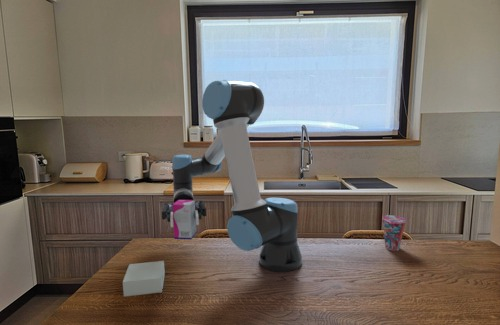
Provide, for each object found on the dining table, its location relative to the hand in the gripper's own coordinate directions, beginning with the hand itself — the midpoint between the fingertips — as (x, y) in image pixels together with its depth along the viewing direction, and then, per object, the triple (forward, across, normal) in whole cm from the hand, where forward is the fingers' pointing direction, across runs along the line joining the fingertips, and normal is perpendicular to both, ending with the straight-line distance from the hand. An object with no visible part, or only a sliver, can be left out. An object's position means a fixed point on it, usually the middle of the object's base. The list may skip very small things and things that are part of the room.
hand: (184, 222), depth 97 cm
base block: (-2, +13, -21) cm, 25 cm away
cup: (-6, -78, -20) cm, 81 cm away
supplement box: (-5, 0, -7) cm, 8 cm away
